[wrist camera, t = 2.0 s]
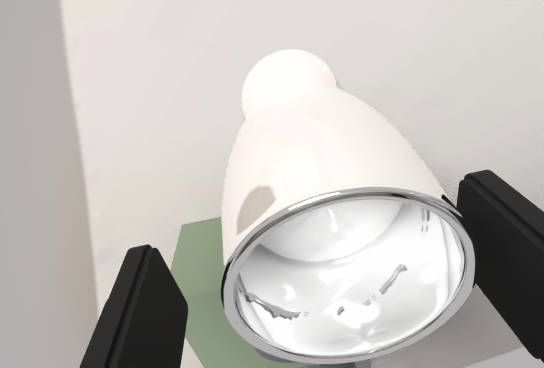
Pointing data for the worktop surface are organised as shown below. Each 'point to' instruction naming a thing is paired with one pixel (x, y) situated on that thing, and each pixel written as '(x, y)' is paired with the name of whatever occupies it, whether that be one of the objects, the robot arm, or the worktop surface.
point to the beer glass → (334, 224)
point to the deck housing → (212, 303)
